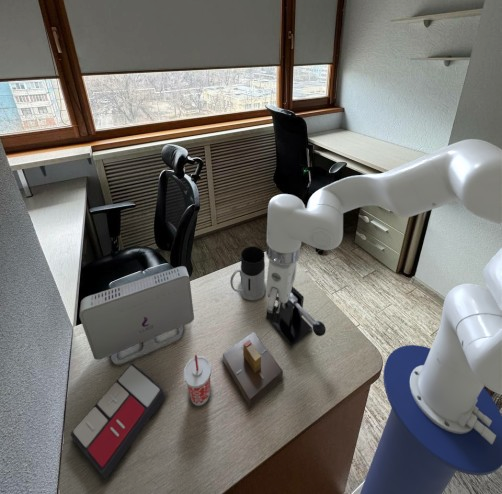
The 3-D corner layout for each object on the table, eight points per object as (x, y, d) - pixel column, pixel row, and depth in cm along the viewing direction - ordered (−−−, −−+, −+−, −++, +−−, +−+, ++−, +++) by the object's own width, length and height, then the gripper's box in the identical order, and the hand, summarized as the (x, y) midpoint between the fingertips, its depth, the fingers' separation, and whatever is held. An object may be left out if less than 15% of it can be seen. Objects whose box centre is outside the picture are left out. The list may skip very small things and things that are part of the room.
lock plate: (282, 377, 67) (283, 369, 65) (249, 407, 61) (249, 399, 60) (253, 338, 76) (253, 330, 74) (222, 361, 70) (222, 353, 69)
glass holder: (270, 288, 91) (272, 253, 85) (242, 317, 81) (241, 280, 76) (251, 274, 97) (251, 241, 91) (222, 300, 87) (220, 265, 81)
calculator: (68, 432, 54) (131, 360, 66) (74, 441, 56) (134, 370, 68) (100, 472, 49) (162, 387, 61) (106, 481, 51) (165, 397, 63)
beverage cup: (182, 406, 61) (176, 368, 56) (192, 376, 67) (187, 339, 61) (208, 412, 60) (204, 374, 55) (216, 381, 66) (213, 344, 60)
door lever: (327, 334, 68) (329, 325, 67) (319, 341, 67) (320, 333, 65) (291, 298, 78) (292, 290, 77) (283, 304, 76) (284, 295, 75)
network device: (96, 375, 67) (76, 320, 59) (98, 343, 74) (80, 290, 66) (196, 331, 77) (191, 280, 69) (189, 307, 84) (183, 258, 77)
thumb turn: (260, 368, 66) (261, 355, 64) (255, 373, 65) (255, 360, 63) (249, 351, 70) (249, 338, 68) (243, 355, 69) (243, 343, 67)
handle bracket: (311, 330, 78) (315, 301, 73) (291, 347, 73) (294, 317, 69) (287, 305, 85) (289, 277, 81) (268, 319, 81) (269, 290, 76)
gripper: (290, 283, 51) (284, 342, 57) (307, 229, 65) (301, 281, 72) (253, 271, 53) (251, 329, 60) (277, 222, 68) (274, 273, 75)
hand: (278, 303), depth 66 cm, fingers open, 9 cm apart
